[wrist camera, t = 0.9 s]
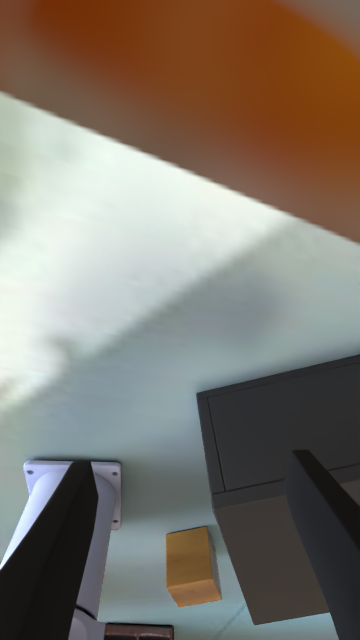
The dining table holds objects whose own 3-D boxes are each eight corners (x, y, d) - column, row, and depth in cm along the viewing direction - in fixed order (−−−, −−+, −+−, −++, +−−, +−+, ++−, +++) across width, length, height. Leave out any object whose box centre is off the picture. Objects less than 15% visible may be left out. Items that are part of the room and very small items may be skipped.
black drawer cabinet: (358, 477, 27) (435, 594, 20) (229, 503, 28) (253, 625, 20) (363, 353, 21) (479, 455, 13) (196, 392, 22) (212, 510, 14)
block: (215, 547, 32) (222, 599, 28) (176, 554, 32) (178, 607, 28) (206, 525, 30) (212, 579, 26) (166, 534, 30) (166, 587, 26)
